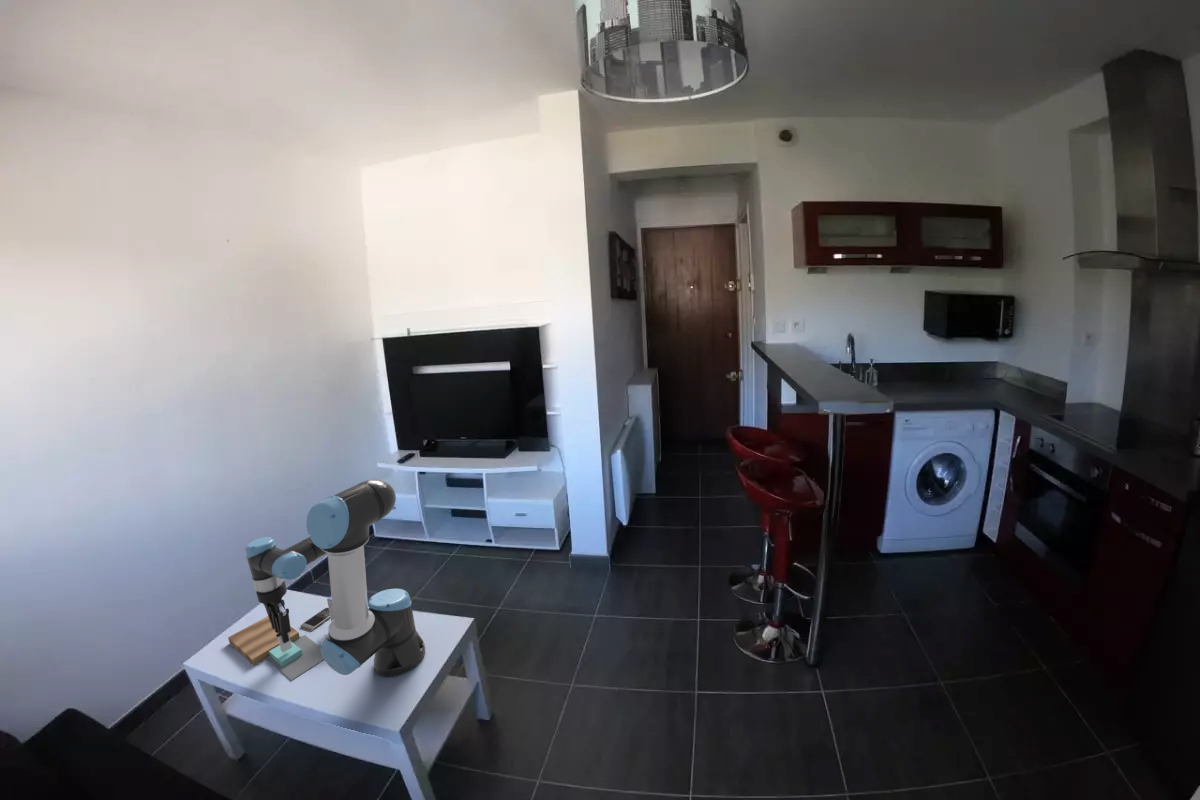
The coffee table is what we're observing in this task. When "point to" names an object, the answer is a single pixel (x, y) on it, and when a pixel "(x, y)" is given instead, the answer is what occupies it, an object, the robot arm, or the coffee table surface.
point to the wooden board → (258, 640)
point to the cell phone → (316, 620)
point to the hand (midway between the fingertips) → (286, 649)
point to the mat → (300, 658)
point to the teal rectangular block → (285, 654)
